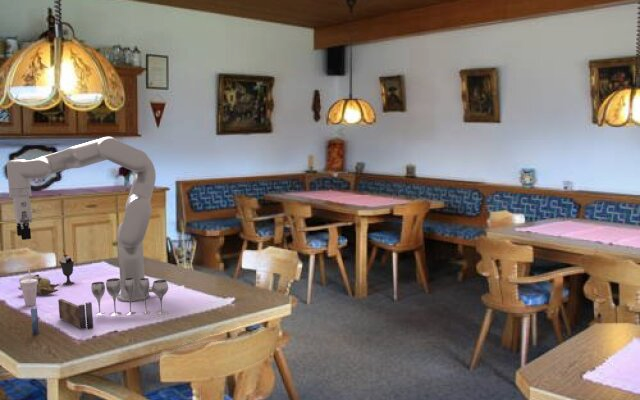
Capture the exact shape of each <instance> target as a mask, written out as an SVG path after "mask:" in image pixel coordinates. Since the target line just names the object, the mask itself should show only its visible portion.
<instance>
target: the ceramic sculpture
mask: <svg viewBox="0 0 640 400" xmlns="http://www.w3.org/2000/svg"><path fill="white" fill-rule="evenodd" d="M39 275H40V274H37V275H35V276H33V277H32V278H31V279H37V280H38V283H37V291H36V295H51V294H53V293H55V292H58V291H59V289H58V288H57V289H56V287H58V286H60V284H59V283H56V284H54V283H51V280H50V279H49V278H48V277H46V276H41V275H40V276H41V277H40V276H39ZM22 280H25V279H21V278H19V279H18V282H20V281H22ZM19 286H21V285H20V284H19ZM20 289H21V290H22V287H21V288H20Z"/></svg>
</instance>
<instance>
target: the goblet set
mask: <svg viewBox="0 0 640 400" xmlns="http://www.w3.org/2000/svg"><path fill="white" fill-rule="evenodd" d="M105 285H106V286H105ZM149 287H152V290H153V292H152V293H153V294H154V295H155V296H157V297H158V298H159V303H160V310H159V311H156V312H155V313H154V314H155V315H159V316H161V315H165V314H168V313H169V312H168V311H167V310H163V307H162V306H163V305H162V304H163V301H162V300H163V298H164V297H165V295H166V294H167V293H168V290H169V285H168V282H167V280H165V279H158V280H154V281H153V283H152V286H151V285H150V280H149V278H146V277H145V278H142V279H140V289H141V292H142V294H143V296H144V299H143V300H144V305H145V306H144V308H145V311H142V312H140V315H143V316H145V315H151V314H152V311H147V299H148V298H147V294H148V291H149ZM124 289H125V292H126V294H127V296H128V298H129V301H128V302H129V312H126V313H125V316H133V315H136V314H137V312H136V311H132V305H131V304H132V301H131V297H132V294H133V291H134V280H133V278H126V279H124ZM106 290H107V291H106ZM105 291H106V292H107V293H108V295H109V296H110V297H111V298H112V300H113V307H114V309H113V310H114V311H113V312H110V313H108V316H110V315H111V317H116V316H121V315H122V314H123V313H122V312H121V311H117V309H116V308H117V307H116V300H117V296H118V294H120V293H121V282H120V278H117V277H114V278H113V277H112V278H108V279H106V283H105V282H103V281H94V282H92V283H91V293H92V296H93V297H94V298H95V299H96V300H97V303H98V304H97V305H98V312H96V314H95V313H94V314H95V315H102V314H105V313H106V312H104V313H100V312H101V300H102V298H103V296H104V294H105Z"/></svg>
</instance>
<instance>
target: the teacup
mask: <svg viewBox="0 0 640 400" xmlns="http://www.w3.org/2000/svg"><path fill="white" fill-rule="evenodd" d="M35 275H39V276H40V277H42V276H41V275H40V274H36V273H35V274H33V273H32V274H30V277H31V278H32V277H33V276H35ZM20 279H25V280H26V279H29V274H26V275H22V276H21V278H20ZM18 289H21V286H20V285H19V286H18Z"/></svg>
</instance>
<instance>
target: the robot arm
mask: <svg viewBox="0 0 640 400" xmlns="http://www.w3.org/2000/svg"><path fill="white" fill-rule="evenodd" d="M107 160H108V161H109V162H111V163H113V164H115V165H118V166H120V167H123V168H125V169H127V170H130V171H132V172H133V179H132V184H131V187H130V192H129V195H128V197H127V199H126V203H125V212H124V216H123V219H122V222H121V223H120V224H119V225H118V227H117V230H116V238H117V239H116V240H117V249H118V251H117V252H118V264H119V268H118V269H119V279H120V282H121V290H120V292H119V294H118V296H117V297H116V300H118V301H121V302H129V298H128V296H127V294H126V292H125V289H124V279H126V278H133V280H134V291H133V294H132V297H131V302H137V301H142V300H145V299H144V296H143V294H142V292H141V289H140V279H142V278H146V276H145V262H144V261H145V260H144V259H145V257H144V246H143V245H144V244H143V241H144V239H145V236H146V233H147V229H148V227H149V223H150V219H151V216H152V210H153V209H152V208H153V207H152V204H151V200H152V197H153V193H154V190H155V189H154V188H155V184H156V177H157V176H156V175H157V173H156V169H155V165H154V163H153V161H152V160H151V159H150V157H149V156H148V154H147V153H146V152H145V151H143V150H141V149H138V148H135V147H134V146H131V145H129V144H127V143H125V142H122V141H120V140H119V139H116V138H114V137H112V136H104V137H101V138H99V139H98V138H97V139H94V140H90V141H88V142H84V143H81V144H77V145H74V146H71V147H68V148H65V149H64V150H60V151H57V152H53V153H50V154H47V155H42V156H40V157H36V158H35V159H30V160H26V159H10V160H8V161H7V162H6V173H7V183H8V194H9V195H8V196H9V198H11V199H12V202H13V203H12V205H13V214H14V220H15V222H16V234H17V237H21V240H23V241H25V240H31V239H32V234H31V233H32V232H31V224H30V223H33V214H32V206H31V200H30V197H32V188H31V187H32V185H31V179H35V180H36V179H37V180H40V179H46V178H47V177H48V176H49V175H52V174H55V173H58V172H59V173H60V172H62V171H65V170H66V171H67V170H71V169H79V168H84V167H87V166H90V165H94V164H97V163H100V162H104V161H107ZM150 293H154V292H153V290H152V286H150V287H149V291H148V294H147V298H146V299H148V298H149V297H150Z"/></svg>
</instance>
